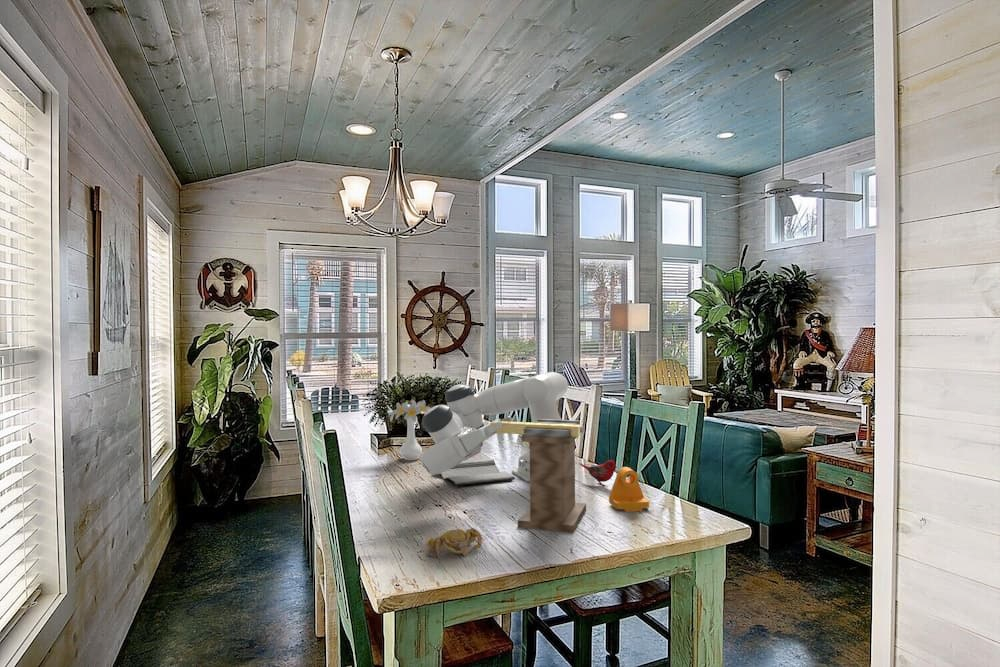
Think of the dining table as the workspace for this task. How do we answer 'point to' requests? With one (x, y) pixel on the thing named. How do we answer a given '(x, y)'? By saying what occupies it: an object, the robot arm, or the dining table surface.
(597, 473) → the decorative bird figurine
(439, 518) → the dining table surface
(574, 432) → the yellow bar
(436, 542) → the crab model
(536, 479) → the stand
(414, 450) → the flower vase
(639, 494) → the bracket
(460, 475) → the mat
